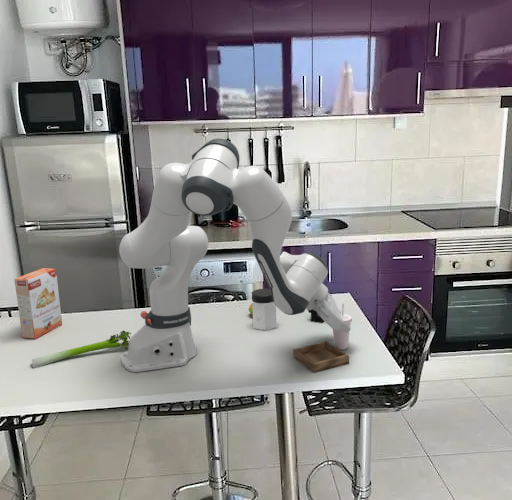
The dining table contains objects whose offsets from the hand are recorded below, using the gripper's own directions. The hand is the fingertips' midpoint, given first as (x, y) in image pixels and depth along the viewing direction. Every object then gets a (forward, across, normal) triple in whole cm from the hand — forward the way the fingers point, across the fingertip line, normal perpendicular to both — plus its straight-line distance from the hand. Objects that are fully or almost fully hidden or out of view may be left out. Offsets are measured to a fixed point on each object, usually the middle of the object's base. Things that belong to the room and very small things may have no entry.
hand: (346, 325), depth 160 cm
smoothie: (+4, 0, +6) cm, 7 cm away
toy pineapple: (-13, +31, +24) cm, 42 cm away
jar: (-12, +20, +23) cm, 32 cm away
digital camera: (+2, +26, +9) cm, 28 cm away
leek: (-51, 0, +62) cm, 80 cm away
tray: (-1, -8, +11) cm, 14 cm away
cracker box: (-66, +22, +77) cm, 104 cm away
